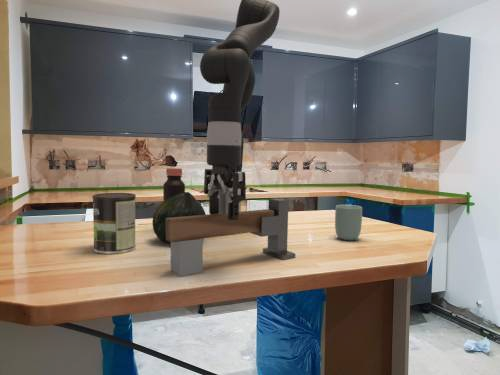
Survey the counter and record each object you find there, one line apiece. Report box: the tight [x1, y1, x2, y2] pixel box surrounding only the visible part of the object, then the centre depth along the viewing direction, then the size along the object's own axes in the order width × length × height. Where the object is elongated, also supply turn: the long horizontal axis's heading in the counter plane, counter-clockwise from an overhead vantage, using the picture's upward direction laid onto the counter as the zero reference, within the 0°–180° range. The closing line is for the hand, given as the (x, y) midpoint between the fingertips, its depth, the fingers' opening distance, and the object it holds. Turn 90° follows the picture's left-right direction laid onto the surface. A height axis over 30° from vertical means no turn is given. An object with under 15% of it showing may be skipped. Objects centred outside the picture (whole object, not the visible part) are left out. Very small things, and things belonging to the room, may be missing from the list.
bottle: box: [162, 167, 186, 202], centre depth 117 cm, size 7×7×20 cm
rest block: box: [170, 239, 204, 277], centre depth 77 cm, size 5×5×7 cm
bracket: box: [249, 197, 296, 261], centre depth 89 cm, size 8×10×14 cm
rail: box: [166, 208, 274, 244], centre depth 82 cm, size 3×26×4 cm, turn 124°
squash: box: [152, 191, 207, 243], centre depth 104 cm, size 14×15×15 cm
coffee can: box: [92, 192, 137, 255], centre depth 94 cm, size 10×10×14 cm
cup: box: [334, 204, 363, 241], centre depth 110 cm, size 8×8×10 cm
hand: (223, 216), depth 82 cm, fingers open, 8 cm apart
